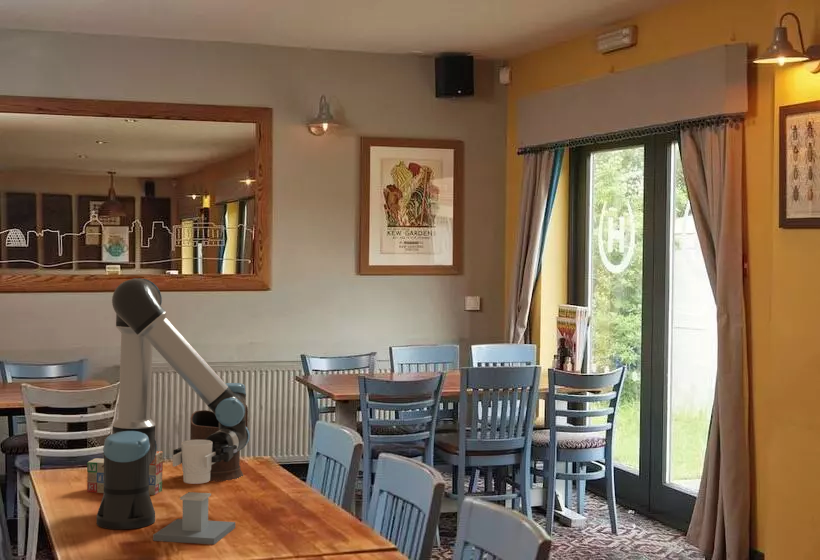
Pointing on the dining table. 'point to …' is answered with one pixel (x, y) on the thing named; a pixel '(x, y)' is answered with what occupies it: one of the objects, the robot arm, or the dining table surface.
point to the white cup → (195, 461)
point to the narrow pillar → (194, 523)
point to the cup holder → (205, 426)
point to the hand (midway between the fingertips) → (189, 461)
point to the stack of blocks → (97, 475)
